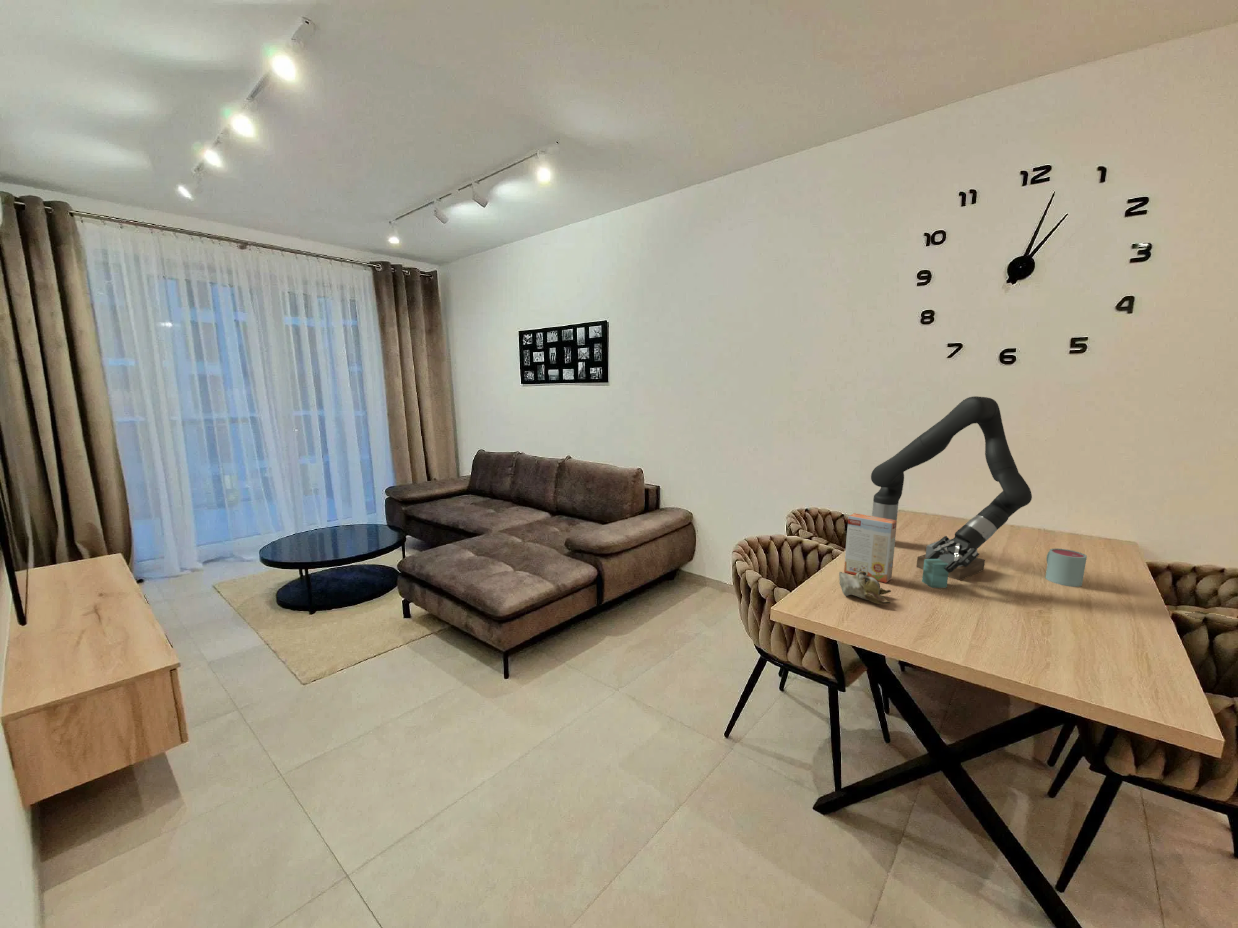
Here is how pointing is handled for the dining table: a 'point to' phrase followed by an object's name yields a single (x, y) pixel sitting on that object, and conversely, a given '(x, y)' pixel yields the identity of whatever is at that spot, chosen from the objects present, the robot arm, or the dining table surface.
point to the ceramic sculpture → (863, 587)
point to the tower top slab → (945, 557)
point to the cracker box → (870, 546)
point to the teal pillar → (935, 573)
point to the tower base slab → (959, 568)
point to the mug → (1065, 567)
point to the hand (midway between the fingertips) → (937, 565)
